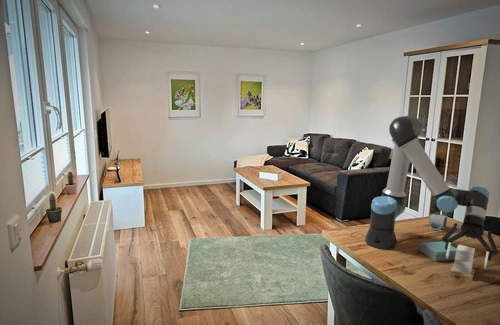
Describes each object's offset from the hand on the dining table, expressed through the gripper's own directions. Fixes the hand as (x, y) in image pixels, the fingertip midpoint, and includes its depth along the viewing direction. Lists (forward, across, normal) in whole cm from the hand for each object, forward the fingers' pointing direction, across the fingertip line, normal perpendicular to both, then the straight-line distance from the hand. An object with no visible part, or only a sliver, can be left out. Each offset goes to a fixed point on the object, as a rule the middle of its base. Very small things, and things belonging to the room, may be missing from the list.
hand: (465, 262), depth 138 cm
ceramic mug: (-32, +19, -40) cm, 54 cm away
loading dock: (-6, +12, -14) cm, 19 cm away
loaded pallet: (+3, +1, -5) cm, 6 cm away
